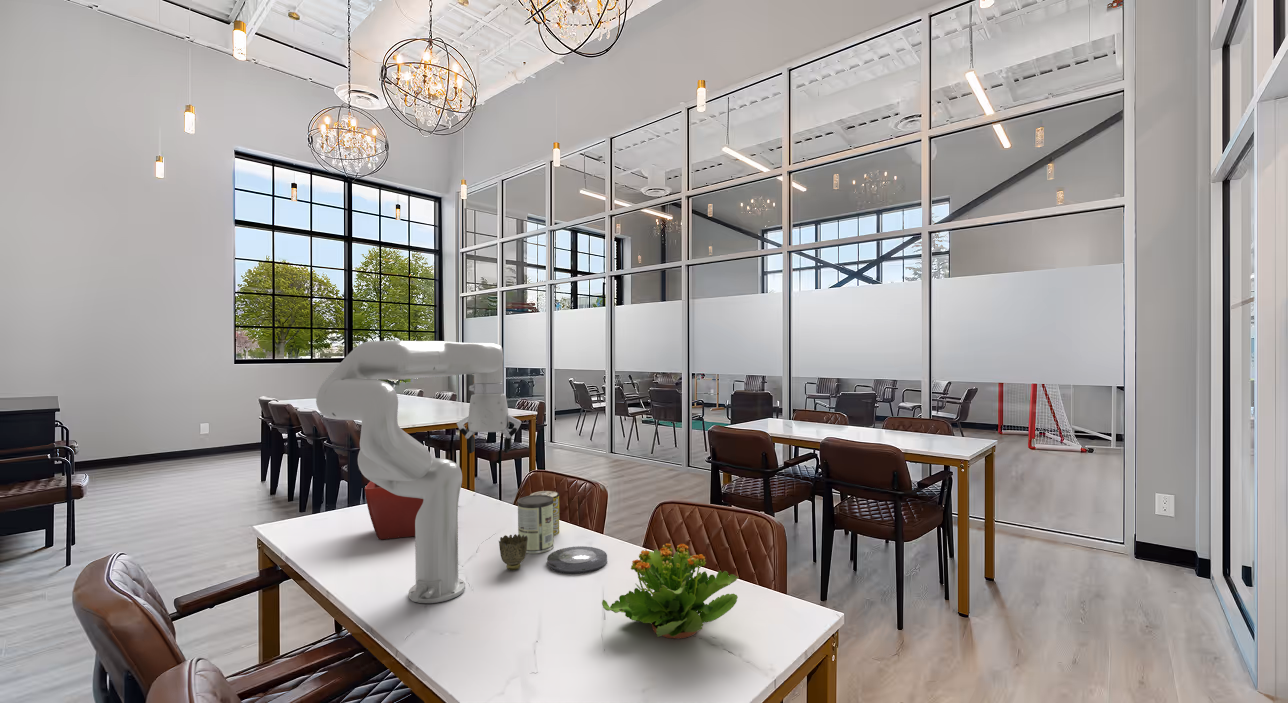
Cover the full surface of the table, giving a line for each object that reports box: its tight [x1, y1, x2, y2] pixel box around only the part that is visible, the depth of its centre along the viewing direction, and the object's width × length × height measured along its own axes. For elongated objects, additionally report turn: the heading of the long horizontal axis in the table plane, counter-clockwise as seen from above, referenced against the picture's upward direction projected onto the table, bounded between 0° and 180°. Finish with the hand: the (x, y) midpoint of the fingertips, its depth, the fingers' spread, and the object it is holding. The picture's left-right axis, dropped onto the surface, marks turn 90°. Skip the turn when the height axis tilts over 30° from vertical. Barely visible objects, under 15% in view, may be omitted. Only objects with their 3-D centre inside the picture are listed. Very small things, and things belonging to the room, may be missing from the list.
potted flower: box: [601, 543, 739, 640], centre depth 115 cm, size 25×24×18 cm
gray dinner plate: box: [546, 545, 608, 575], centre depth 152 cm, size 16×16×2 cm
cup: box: [498, 534, 528, 572], centre depth 148 cm, size 8×7×8 cm
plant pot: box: [364, 480, 423, 540], centre depth 179 cm, size 19×19×17 cm
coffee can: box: [517, 495, 555, 555], centre depth 163 cm, size 10×10×14 cm
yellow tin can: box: [529, 490, 560, 537], centre depth 177 cm, size 9×9×12 cm
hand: (489, 452), depth 153 cm, fingers open, 9 cm apart
